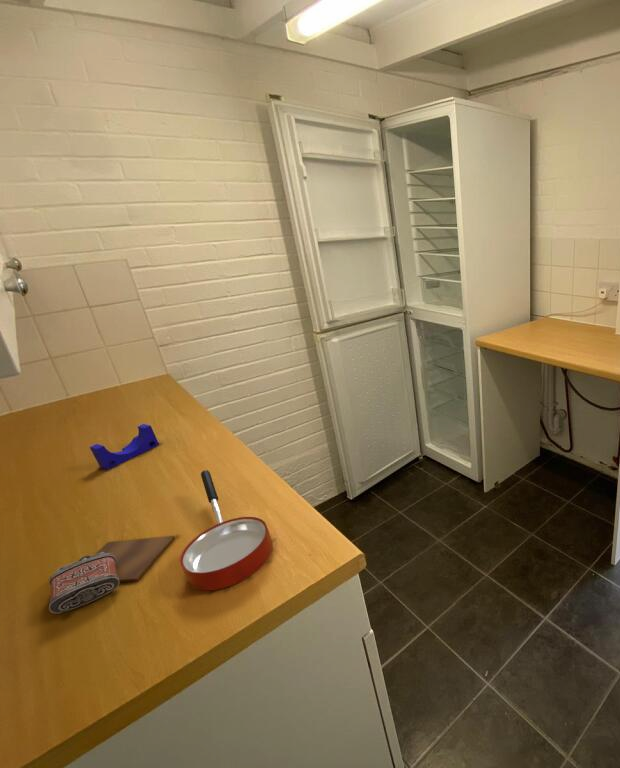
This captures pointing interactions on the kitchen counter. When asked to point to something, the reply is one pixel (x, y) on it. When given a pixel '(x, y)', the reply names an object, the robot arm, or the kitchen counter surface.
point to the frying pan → (225, 548)
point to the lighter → (83, 582)
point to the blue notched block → (126, 448)
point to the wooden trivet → (135, 555)
